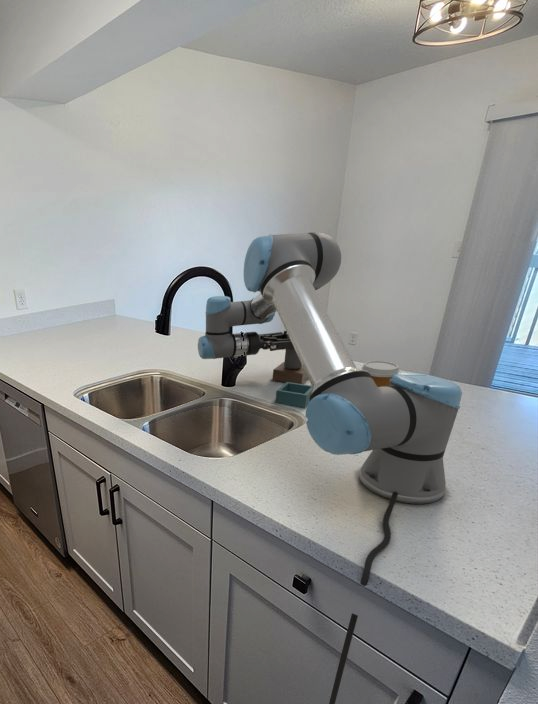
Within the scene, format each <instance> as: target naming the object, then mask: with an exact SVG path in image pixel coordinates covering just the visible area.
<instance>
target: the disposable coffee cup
mask: <svg viewBox="0 0 538 704" xmlns="http://www.w3.org/2000/svg"><path fill="white" fill-rule="evenodd" d="M361 369H362V370H366V371H368V372H369V373H370V375H371V377H372V378H373V380H374V382H375V384H376V386H377V387H382V386H389V385H390V379H392V376H393V375H394V374H395V373H399V372H400V370H399V365H398V364H396V363H394V362H390V361H384V360H370V361H365V362H364V364H363V365H362V367H361Z"/></svg>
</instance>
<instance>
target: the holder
mask: <svg viewBox="0 0 538 704" xmlns="http://www.w3.org/2000/svg"><path fill="white" fill-rule="evenodd" d="M312 390H313V387H312V385H311V384H304V383H303V384H298V383H291V382H286V383H285V382H284V383H283V384H282V385H281V386H280V387H279V388H277V389H276V390H275V391H276V392H275V400H274V403H275V404H281V405H286V406H292V407H297V408H304V409H306V408H307V406H308V404H309V402H310V400H309V396H310V394H311V392H312Z"/></svg>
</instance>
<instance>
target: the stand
mask: <svg viewBox="0 0 538 704" xmlns="http://www.w3.org/2000/svg"><path fill="white" fill-rule="evenodd" d="M307 380H309V379H308V377H307V374H306V372H305V370H304V368H303V366H302V367H301V368H299V369H289V368H286V367H284V361H283V362H281V363H280V364H279V365H277V366H276V367H275V368H273V369H272V380H271V381H273V382H277V383H284V384H285V383H286V382H291V383H298V384H304V383H306V381H307Z"/></svg>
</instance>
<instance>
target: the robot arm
mask: <svg viewBox="0 0 538 704" xmlns="http://www.w3.org/2000/svg"><path fill="white" fill-rule="evenodd" d="M341 264H342V251H341V248H340V246H339V244H338V242H337V241H336V240H335V239H334V238H333V237H332V236H330V235H328V234H326V233H323V232H318V231H312V232H311V231H310V232H298V233H281V234H272V233H271V234H268V235H262V236H258V237H256V238H254V239H253V240H252V241H251V242H250V244H249V246H248V248H247V250H246V253H245V257H244V263H243V283H244V286H245V288H246V290H247V291H248V292H253V293H257V292H259V293H258V294H257V295H255V297H253V298H251V299H249V300H241V301H231V297H230V296H227V295H215V296H210V297H208V299H207V300H206V305H205V333H204V335H203V336H200V337H199V338H198V340H197V352H198V355H199V357H200V358H201V359H202V360H217V359H225V358H235V359H237V358H238V357H245V356H255V355H257V354H259V352H260V350H269V351H270V352H274V351H283V350H286V349H295V351H296V353H297V355H298V357H299V359H300V361H301V364H302V366H303V368H304V370H305V372H306V374H307V377H308V379H307V380H308V381H309V384H310V385H311V386H312V387H313V390H312V392H311V394H310V396H309V400H310V402H309V404H308V405H307V406H306V408H305V418H306V419H307V420H306V422H305V423H306V428H307V430H308V431H307V432H308V433H309V435H310V437H311V439H312V440H313V441H314V443H315V444H316V445H317V446H318V447H319V448H320V449H321V450H322V451H324V452H327V453H329V454H331V455H335V456H341V455H342V456H343V455H358V454H362V453H364V452H369V451H370V453H369V455H368V456H367V458H366V459H365V461H364V462H363V464H362V465H361V467H360V472H359V480H360V482H361V483H362V485H363V486H364V487H365V488H366V489H368V491H371V492H372V493H374V494H376V495H377V496H380V497H382V498H385V499H388V500H389V502H388V504H387V507H386V510H385V512H384V516H383V522H382V525H383V527H382V528H383V532H384V537H383V540H382V541H381V542H380V543H379V544H378V545H376V546H375V547H374V548H373V549H371V550H370V551H369V553H368V555H367V556H366V558H365V562H364V567H363V572H362V576H361V578H360V582H359V584H360V585H361V586H364V587H365V586H367V585H368V582H369V578H370V574H371V570H372V565H373V561H374V559H375V557H376V556H377V555H378V553H380V552H381V551H382V550H384V549H385V548H386V547H387V546H388V545H389V544H390V541H391V538H392V537H391V535H392V534H391V529H390V528H391V527H390V518H391V515H392V512H393V510H394V507H395V505H396V502H399V503H404V504H414V505H415V504H416V505H421V504H423V505H424V504H431V503H434V502H437V501H439V500H441V498H442V497H443V496H444V493H445V490H446V485H447V484H446V483H447V482H446V474H445V465H444V456H445V452H446V449H447V446H448V443H449V439H450V437H451V433H452V431H453V427H454V425H455V421H456V418H457V416H458V411H459V410H460V408H461V406H460V405H461V400H462V397H463V396H462V395H463V391H462V389H461V387H460V385H458V384H457V383H455V382H453V381H451V380H448V379H445V378H442V377H440V376H436V375H431V374H425V373H420V372H409V371H401V372H400V371H399V373H395V374H394V375H393V376H392V379H390V385H389V386H382V387H377V386H376V384H375V382H374V380H373V378H372V377H371V375H370V373H369V372H368V371H366V370H362V368H358V367H357V366H356V364H355V363H354V360H353V359H352V357H351V354H350V352H349V351H348V349H347V347H346V345H345V343H344V341H343V339H342V338H341V336H340V334H339V332H338V330H337V328H336V326H335V325H334V323H333V321H332V319H331V316H330V315H329V313H328V311H327V309H326V308H325V306H324V304H323V302H322V300H321V298H320V296H319V294H318V292H317V291H318V290H319V289H321V288H323V287H324V286H326V285H327V284H329V283H330V282H331V281H332V280H333V279H334V278H335V277H336V275H337V274H338V272H339V270H340V267H341ZM276 312H277V314H278V315H279V318H280V320H281V322H282V326H283V327H284V329H285V330H283V332H282V331H279V332H269V333H258V332H257V331H248V332H247V331H245V332H233V333H230V328H231V327H239V326H240V327H241V326H249V325H250V326H251V325H262V324H266V323H270V322H272V321H273V320H274V317H275V315H276ZM241 333H243V334H244V341H243V337H242V349H241ZM287 336H289V338H290V339H287ZM244 352H245V355H244ZM241 355H243V356H241ZM358 618H359V615H358V614H355V613H353V612H352V613H351V614H350V620H349V622H348V627H347V629H346V634H345V637H344V638H345V639H344V641H343V646H342V650H341V653H340V658H339V662H338V665H337V669H336V674H335V677H334V682H333V685H332V690H331V694H330V697H329V702H328V704H336V701H337V699H338V698H337V697H338V693H339V689H340V686H341V682H342V678H343V675H344V671H345V667H346V664H347V663H346V662H347V658H348V655H349V652H350V651H349V650H350V647H351V643H352V640H353V637H354V632H355V628H356V625H357V621H358Z"/></svg>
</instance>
